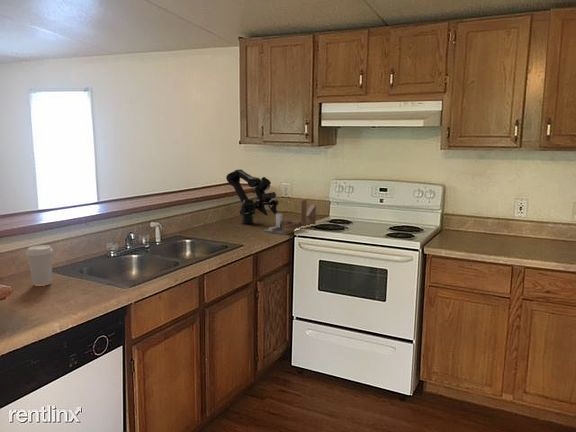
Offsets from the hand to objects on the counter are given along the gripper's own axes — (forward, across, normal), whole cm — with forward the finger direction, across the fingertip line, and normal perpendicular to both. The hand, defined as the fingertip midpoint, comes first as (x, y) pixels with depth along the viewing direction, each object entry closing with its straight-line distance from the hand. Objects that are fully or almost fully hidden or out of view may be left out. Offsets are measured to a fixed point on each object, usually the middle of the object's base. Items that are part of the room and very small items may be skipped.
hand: (271, 215), depth 301 cm
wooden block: (+14, +20, -6) cm, 25 cm away
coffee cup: (+23, -141, +12) cm, 144 cm away
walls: (+12, +2, -1) cm, 12 cm away
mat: (+12, +2, -1) cm, 12 cm away
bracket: (+11, -4, 0) cm, 12 cm away
